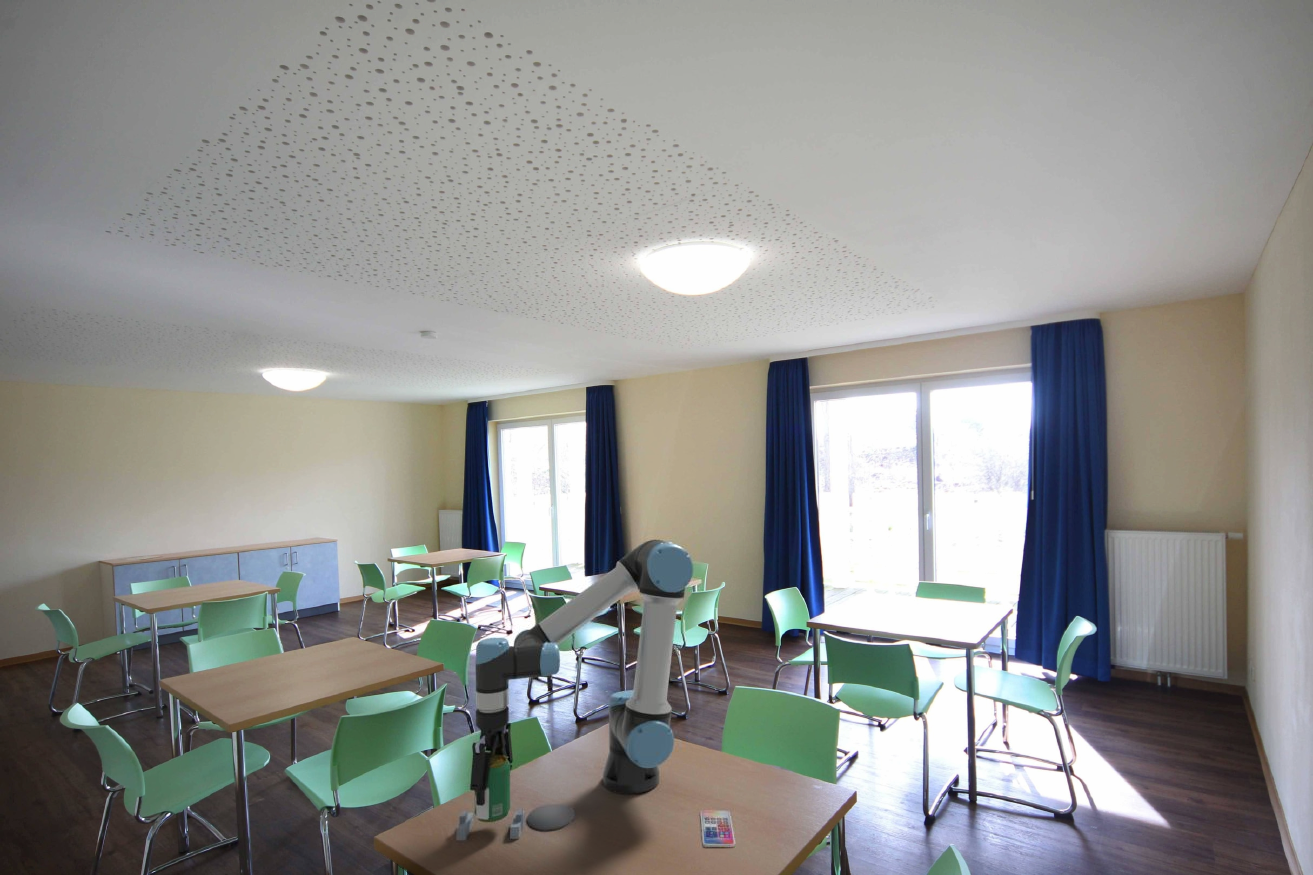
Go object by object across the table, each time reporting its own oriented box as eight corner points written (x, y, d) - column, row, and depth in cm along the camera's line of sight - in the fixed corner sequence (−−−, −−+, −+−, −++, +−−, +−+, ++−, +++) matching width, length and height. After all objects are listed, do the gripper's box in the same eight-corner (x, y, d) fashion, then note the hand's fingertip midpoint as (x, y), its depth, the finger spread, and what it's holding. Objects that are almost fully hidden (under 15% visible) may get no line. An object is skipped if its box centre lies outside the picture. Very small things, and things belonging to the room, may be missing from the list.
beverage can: (467, 816, 145) (467, 762, 146) (495, 801, 152) (495, 750, 152) (488, 827, 140) (488, 771, 141) (517, 811, 147) (517, 758, 148)
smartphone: (730, 809, 153) (736, 845, 138) (730, 814, 153) (736, 849, 138) (699, 809, 153) (702, 844, 138) (699, 813, 153) (702, 849, 138)
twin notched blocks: (524, 821, 149) (524, 804, 150) (519, 838, 142) (519, 819, 143) (465, 823, 149) (465, 806, 149) (456, 840, 142) (456, 821, 142)
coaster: (576, 805, 157) (576, 803, 157) (571, 829, 146) (571, 826, 146) (531, 806, 156) (531, 804, 156) (523, 831, 145) (523, 828, 145)
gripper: (499, 691, 159) (500, 785, 157) (452, 722, 139) (452, 830, 137) (527, 693, 157) (527, 788, 155) (483, 724, 137) (483, 834, 135)
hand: (492, 808), depth 146 cm, fingers closed on beverage can, 8 cm apart
